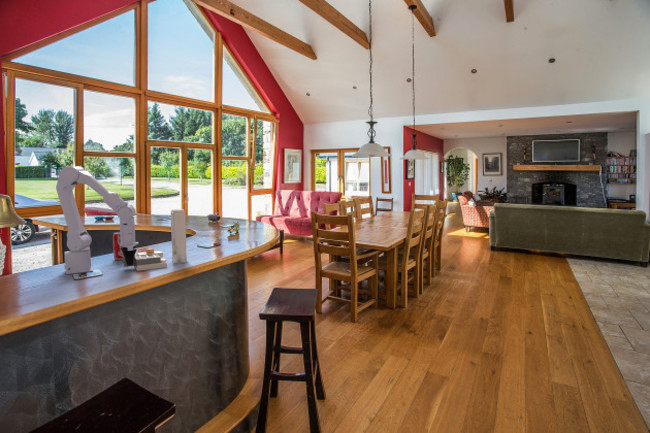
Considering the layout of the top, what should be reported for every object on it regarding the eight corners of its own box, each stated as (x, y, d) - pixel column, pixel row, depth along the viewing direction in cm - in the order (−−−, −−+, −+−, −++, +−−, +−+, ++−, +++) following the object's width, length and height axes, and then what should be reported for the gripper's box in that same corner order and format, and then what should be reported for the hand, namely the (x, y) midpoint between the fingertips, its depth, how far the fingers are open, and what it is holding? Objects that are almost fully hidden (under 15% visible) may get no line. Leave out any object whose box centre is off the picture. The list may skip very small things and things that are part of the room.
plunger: (146, 260, 174) (146, 250, 174) (145, 259, 177) (145, 248, 176) (155, 260, 176) (154, 249, 175) (153, 258, 179) (153, 248, 178)
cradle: (137, 270, 164) (136, 259, 163) (132, 264, 175) (132, 253, 174) (167, 267, 170) (166, 256, 170) (160, 260, 182) (160, 250, 181)
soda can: (118, 261, 179) (116, 234, 178) (111, 259, 183) (109, 232, 182) (133, 259, 185) (132, 232, 183) (126, 256, 189) (124, 231, 188)
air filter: (182, 264, 176) (180, 210, 173) (169, 263, 177) (167, 209, 174) (189, 260, 182) (188, 209, 179) (177, 260, 184) (175, 208, 181)
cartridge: (125, 268, 162) (124, 258, 162) (123, 265, 168) (122, 255, 167) (160, 264, 170) (160, 254, 170) (157, 261, 175) (157, 252, 175)
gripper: (140, 234, 161) (141, 266, 162) (135, 230, 173) (136, 259, 174) (121, 236, 157) (123, 268, 158) (117, 231, 169) (119, 261, 170)
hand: (129, 264), depth 166 cm, fingers open, 4 cm apart
